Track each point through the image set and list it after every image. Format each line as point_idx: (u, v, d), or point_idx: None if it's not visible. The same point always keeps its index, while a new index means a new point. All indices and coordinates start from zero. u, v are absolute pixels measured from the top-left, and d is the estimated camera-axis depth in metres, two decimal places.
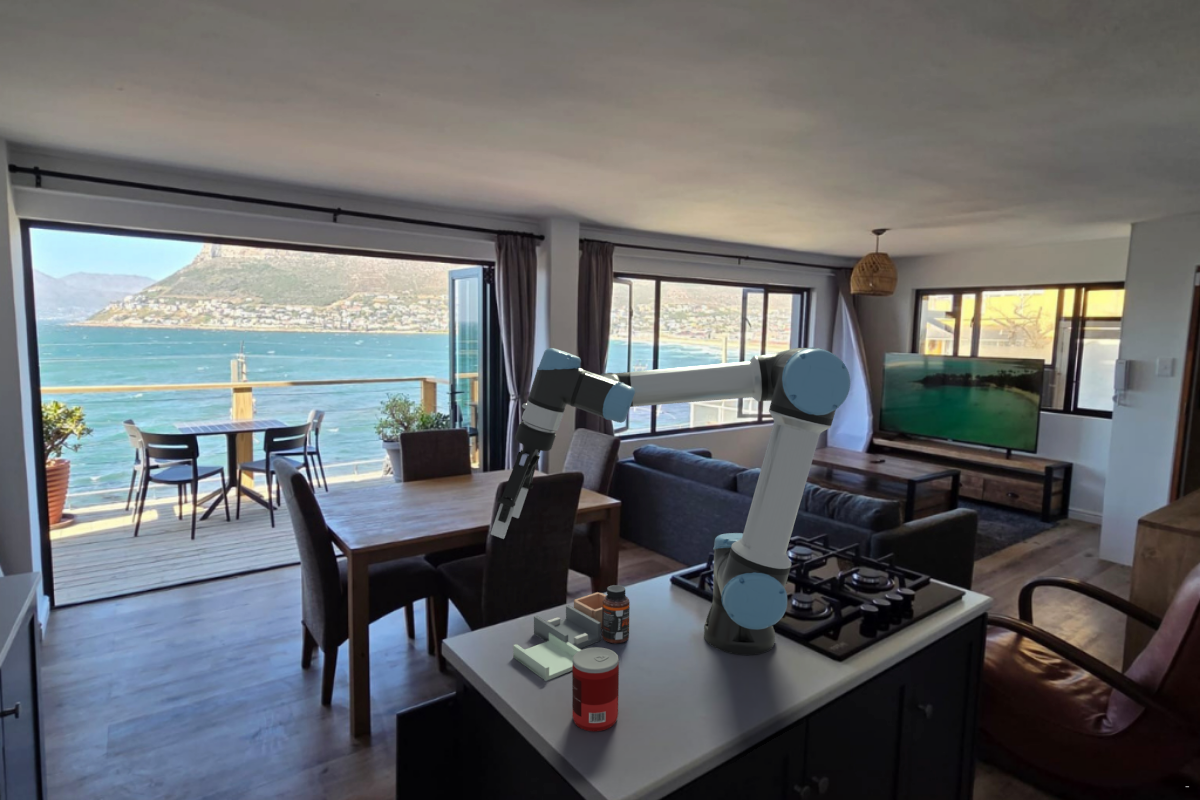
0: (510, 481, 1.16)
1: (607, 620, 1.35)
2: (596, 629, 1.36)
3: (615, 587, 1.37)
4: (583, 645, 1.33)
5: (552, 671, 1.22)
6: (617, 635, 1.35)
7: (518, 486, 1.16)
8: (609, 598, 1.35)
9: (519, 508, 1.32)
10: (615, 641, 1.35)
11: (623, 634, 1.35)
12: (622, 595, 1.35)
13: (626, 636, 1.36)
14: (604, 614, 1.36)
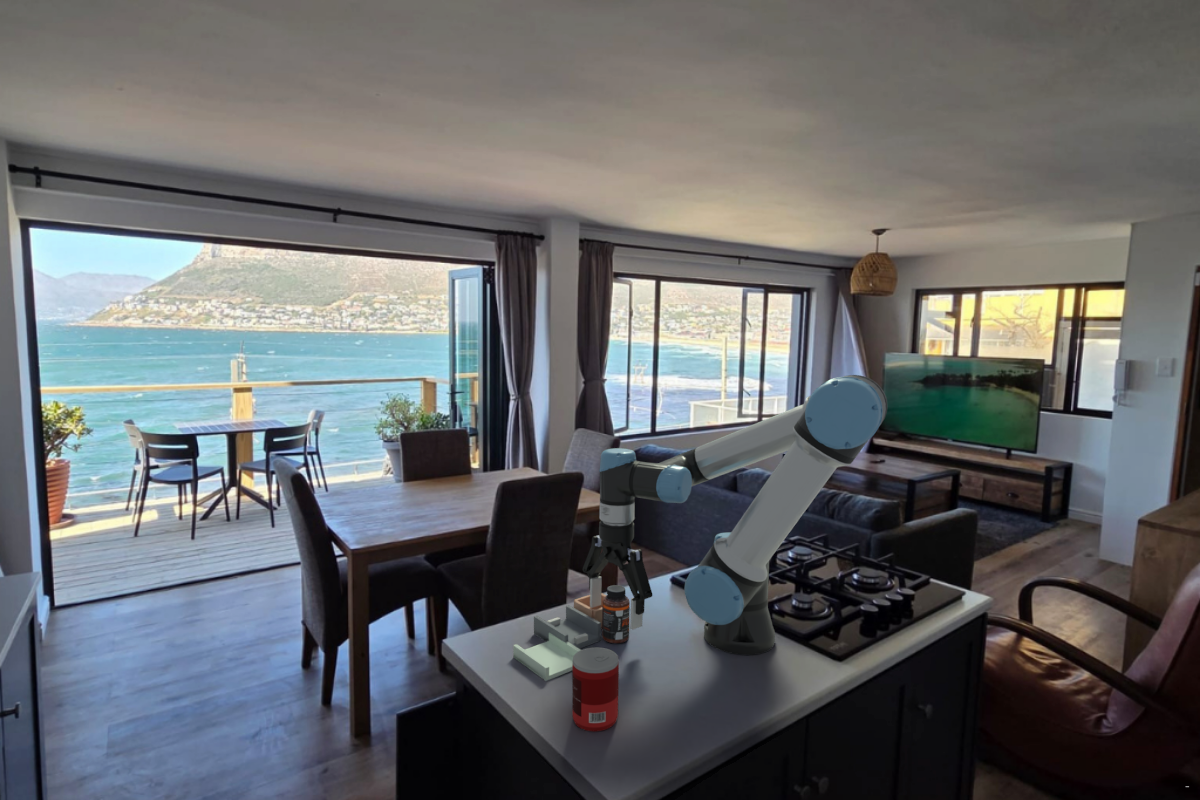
0: (640, 578, 1.29)
1: (607, 620, 1.35)
2: (596, 629, 1.36)
3: (615, 587, 1.37)
4: (583, 645, 1.33)
5: (552, 671, 1.22)
6: (617, 635, 1.35)
7: (646, 578, 1.30)
8: (609, 598, 1.35)
9: (599, 596, 1.43)
10: (615, 641, 1.35)
11: (623, 634, 1.35)
12: (622, 595, 1.35)
13: (626, 636, 1.36)
14: (604, 614, 1.36)
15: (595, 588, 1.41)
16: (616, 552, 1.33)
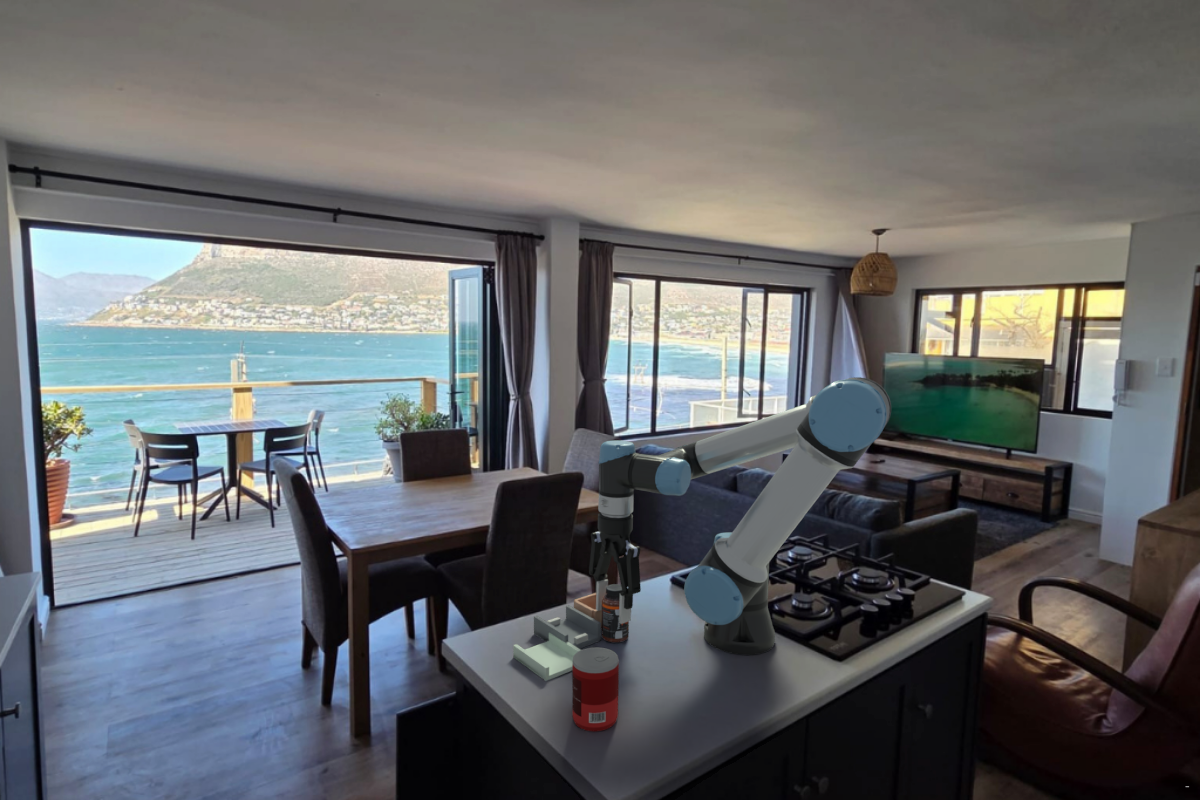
0: (632, 575, 1.31)
1: (607, 619, 1.35)
2: (596, 629, 1.36)
3: (614, 586, 1.37)
4: (583, 645, 1.33)
5: (552, 671, 1.22)
6: (617, 634, 1.35)
7: (638, 574, 1.32)
8: (608, 597, 1.36)
9: None
10: (615, 640, 1.35)
11: (623, 633, 1.35)
12: None
13: (626, 635, 1.36)
14: (603, 613, 1.36)
15: (601, 591, 1.40)
16: (615, 545, 1.34)
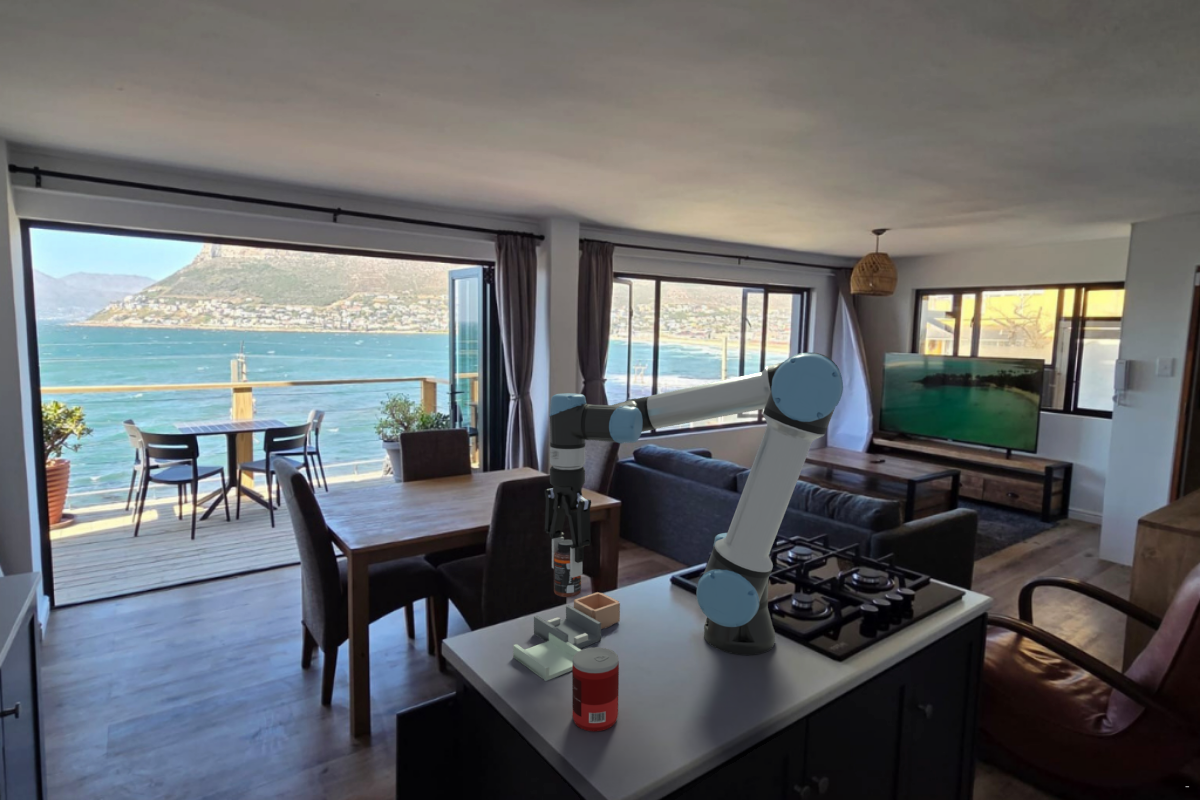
0: (582, 527, 1.30)
1: (558, 573, 1.34)
2: (596, 629, 1.36)
3: (566, 541, 1.36)
4: (583, 645, 1.33)
5: (552, 671, 1.22)
6: (569, 588, 1.34)
7: (589, 527, 1.31)
8: (559, 551, 1.35)
9: None
10: (566, 594, 1.34)
11: (574, 587, 1.34)
12: None
13: (578, 590, 1.35)
14: (555, 568, 1.35)
15: (557, 548, 1.38)
16: (566, 498, 1.33)
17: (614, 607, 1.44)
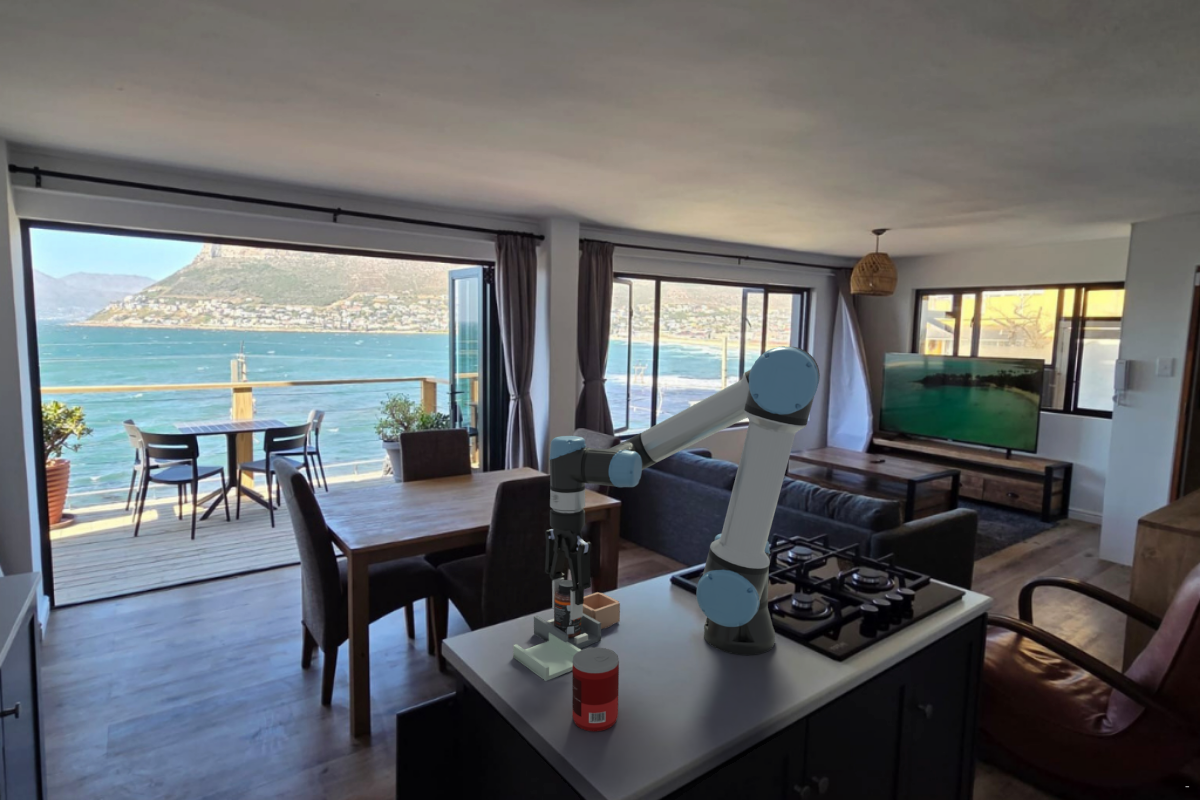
0: (582, 570, 1.31)
1: (559, 614, 1.35)
2: (596, 629, 1.36)
3: (567, 582, 1.37)
4: (583, 645, 1.33)
5: (552, 671, 1.22)
6: (569, 629, 1.35)
7: (589, 570, 1.32)
8: (560, 592, 1.36)
9: None
10: None
11: (574, 628, 1.35)
12: None
13: (578, 630, 1.36)
14: (556, 609, 1.36)
15: (557, 589, 1.39)
16: (566, 541, 1.33)
17: (614, 607, 1.44)
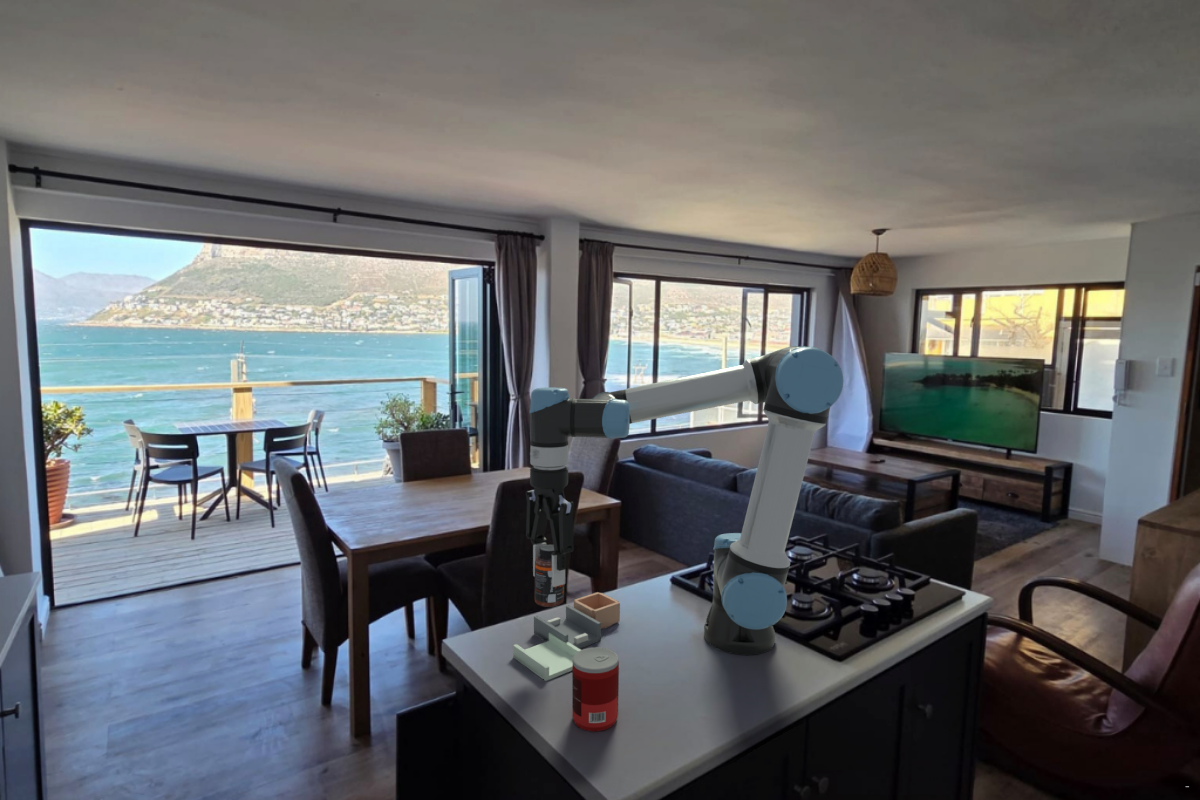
0: (564, 532, 1.20)
1: (539, 581, 1.24)
2: (596, 629, 1.36)
3: (549, 546, 1.26)
4: (583, 645, 1.33)
5: (552, 671, 1.22)
6: (550, 597, 1.24)
7: (572, 532, 1.21)
8: (541, 557, 1.25)
9: None
10: (547, 604, 1.24)
11: (556, 596, 1.24)
12: None
13: (560, 599, 1.25)
14: (536, 575, 1.25)
15: (538, 555, 1.28)
16: (548, 500, 1.22)
17: (614, 607, 1.44)
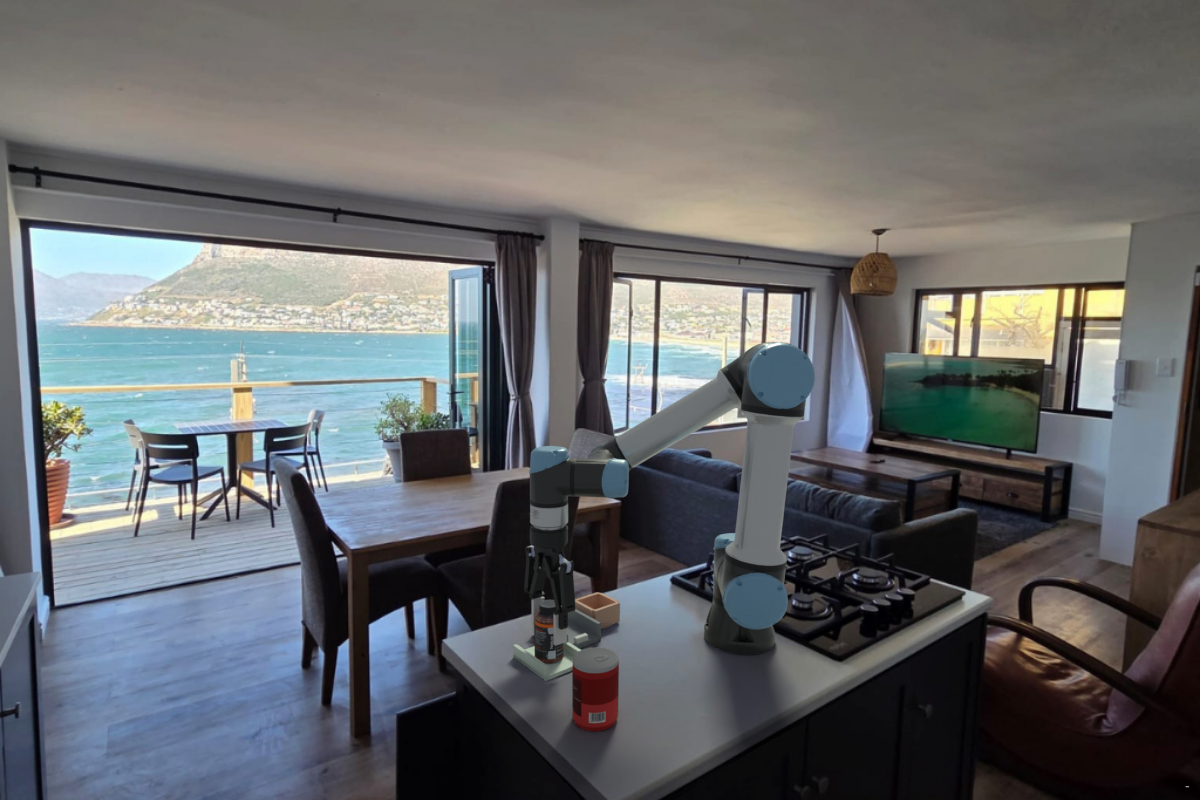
0: (565, 592, 1.20)
1: (539, 637, 1.25)
2: (596, 629, 1.36)
3: (549, 602, 1.27)
4: (583, 645, 1.33)
5: (552, 671, 1.22)
6: (550, 654, 1.24)
7: (573, 591, 1.21)
8: (541, 614, 1.25)
9: None
10: (547, 661, 1.25)
11: (556, 653, 1.25)
12: None
13: (560, 655, 1.26)
14: (536, 631, 1.25)
15: (537, 609, 1.29)
16: (548, 559, 1.23)
17: (614, 607, 1.44)
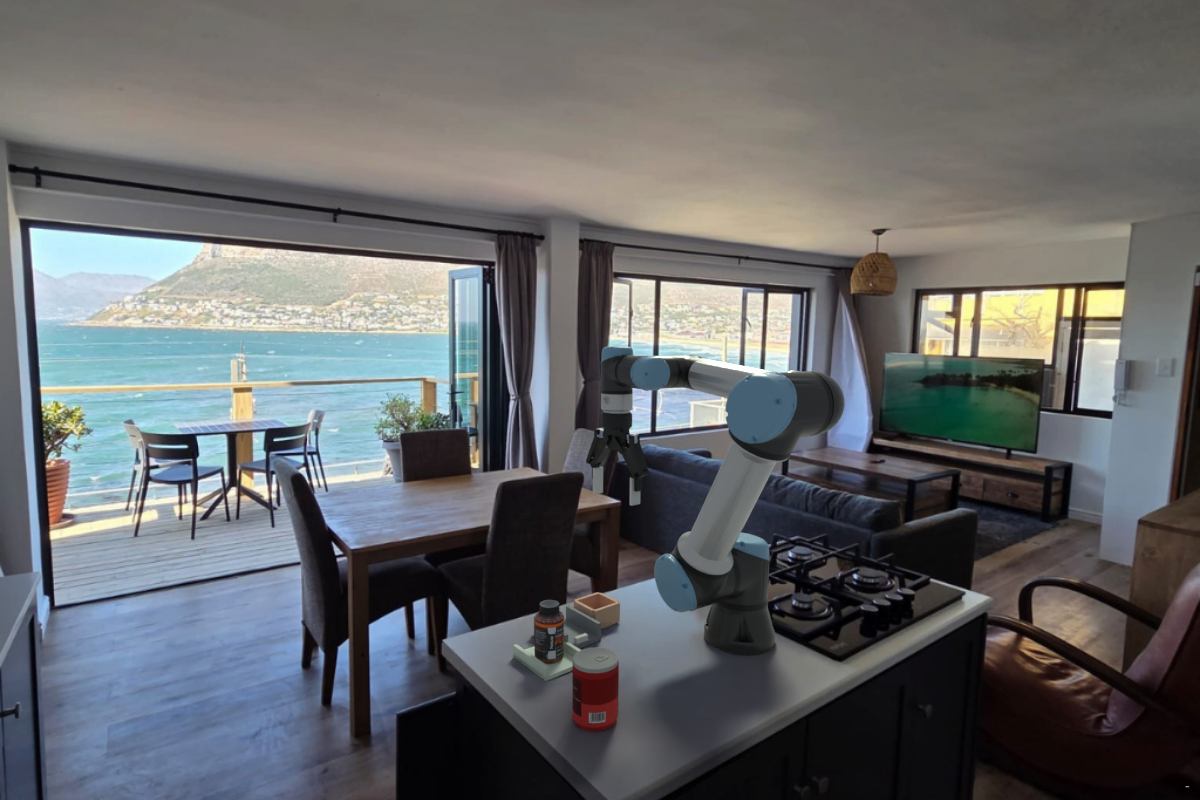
0: (637, 458, 1.44)
1: (539, 637, 1.25)
2: (596, 629, 1.36)
3: (549, 602, 1.27)
4: (583, 645, 1.33)
5: (552, 671, 1.22)
6: (550, 654, 1.24)
7: (643, 458, 1.45)
8: (541, 614, 1.25)
9: (601, 484, 1.57)
10: (547, 661, 1.25)
11: (556, 653, 1.25)
12: (555, 611, 1.25)
13: (560, 655, 1.26)
14: (536, 631, 1.25)
15: (597, 476, 1.56)
16: (616, 438, 1.48)
17: (614, 607, 1.44)
